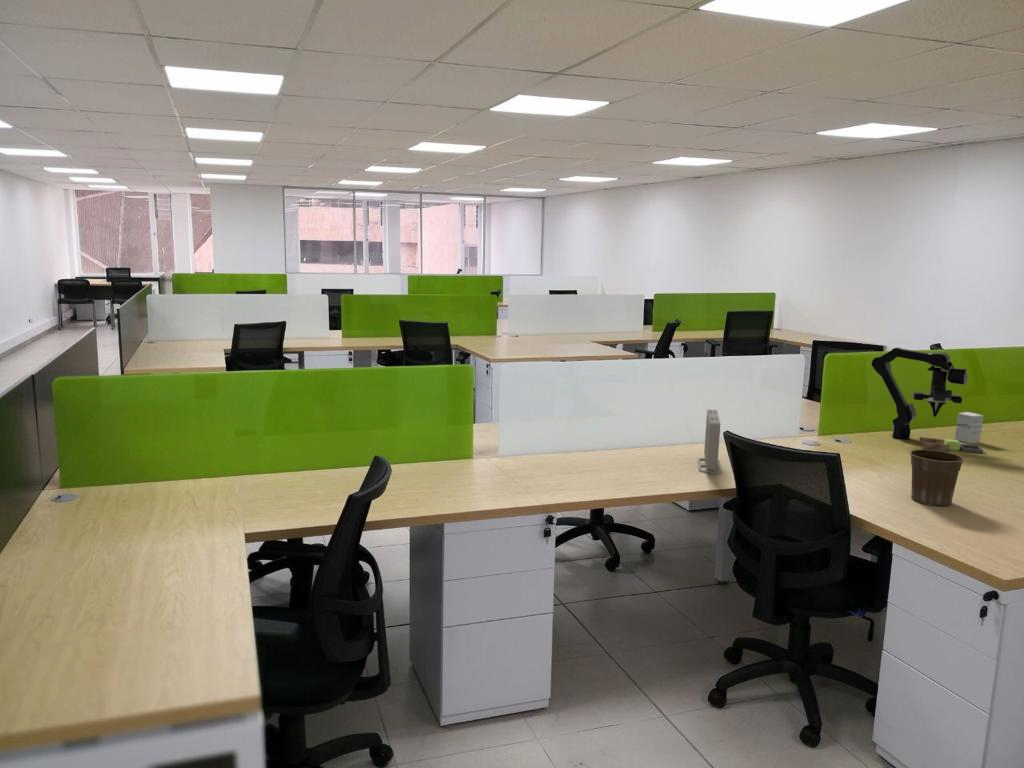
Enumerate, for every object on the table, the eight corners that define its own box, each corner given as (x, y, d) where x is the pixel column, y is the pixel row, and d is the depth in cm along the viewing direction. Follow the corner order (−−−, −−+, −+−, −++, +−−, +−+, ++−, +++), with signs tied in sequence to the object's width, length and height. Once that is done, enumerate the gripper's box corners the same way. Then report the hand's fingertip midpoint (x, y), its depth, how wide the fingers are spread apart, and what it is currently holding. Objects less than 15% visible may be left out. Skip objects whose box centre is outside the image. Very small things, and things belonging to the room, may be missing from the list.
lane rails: (922, 448, 336) (923, 442, 335) (919, 442, 346) (919, 437, 346) (949, 451, 332) (949, 445, 332) (944, 445, 343) (945, 439, 342)
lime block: (946, 449, 335) (947, 441, 335) (943, 446, 340) (944, 439, 340) (959, 450, 334) (960, 442, 333) (956, 448, 339) (957, 440, 338)
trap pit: (962, 451, 332) (962, 448, 332) (958, 447, 339) (959, 443, 339) (982, 453, 330) (983, 450, 329) (979, 449, 337) (979, 445, 337)
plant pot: (910, 490, 277) (916, 446, 274) (962, 500, 267) (968, 454, 264) (899, 501, 265) (904, 455, 262) (952, 512, 254) (958, 464, 252)
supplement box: (954, 440, 352) (957, 412, 350) (964, 438, 355) (968, 411, 353) (969, 443, 346) (973, 416, 344) (980, 442, 349) (984, 414, 347)
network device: (723, 476, 288) (726, 423, 285) (698, 474, 290) (702, 422, 287) (719, 458, 313) (722, 409, 310) (696, 456, 315) (700, 408, 311)
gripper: (917, 382, 336) (913, 418, 339) (966, 386, 330) (962, 422, 333) (914, 379, 347) (910, 413, 349) (961, 382, 341) (957, 417, 343)
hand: (934, 416), depth 344 cm, fingers closed
